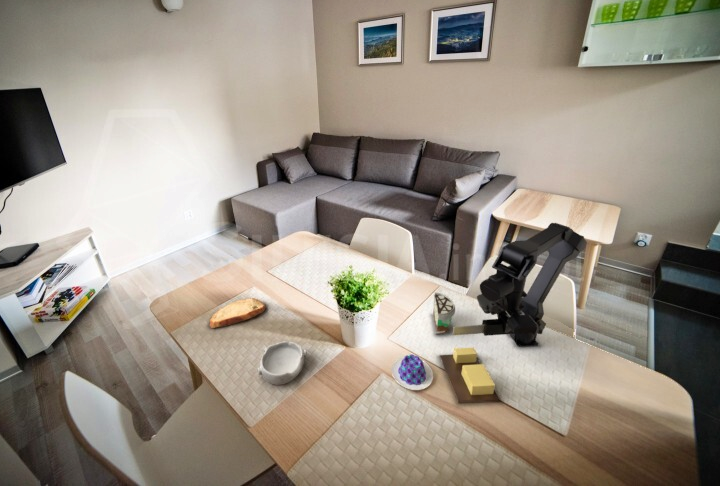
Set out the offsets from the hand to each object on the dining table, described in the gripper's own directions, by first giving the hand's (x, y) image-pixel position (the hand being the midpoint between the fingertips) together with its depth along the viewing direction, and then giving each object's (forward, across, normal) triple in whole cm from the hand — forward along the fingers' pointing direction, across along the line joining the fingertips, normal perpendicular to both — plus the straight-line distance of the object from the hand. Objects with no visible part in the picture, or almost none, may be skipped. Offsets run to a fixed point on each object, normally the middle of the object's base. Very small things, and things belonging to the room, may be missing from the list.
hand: (503, 328), depth 97 cm
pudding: (+11, +4, -28) cm, 31 cm away
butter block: (+10, +10, -11) cm, 18 cm away
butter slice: (+10, +1, -11) cm, 15 cm away
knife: (+1, 0, -5) cm, 5 cm away
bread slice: (+11, -28, -88) cm, 92 cm away
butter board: (+11, +7, -13) cm, 18 cm away
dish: (+11, -1, -68) cm, 69 cm away
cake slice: (+11, -14, -12) cm, 22 cm away
